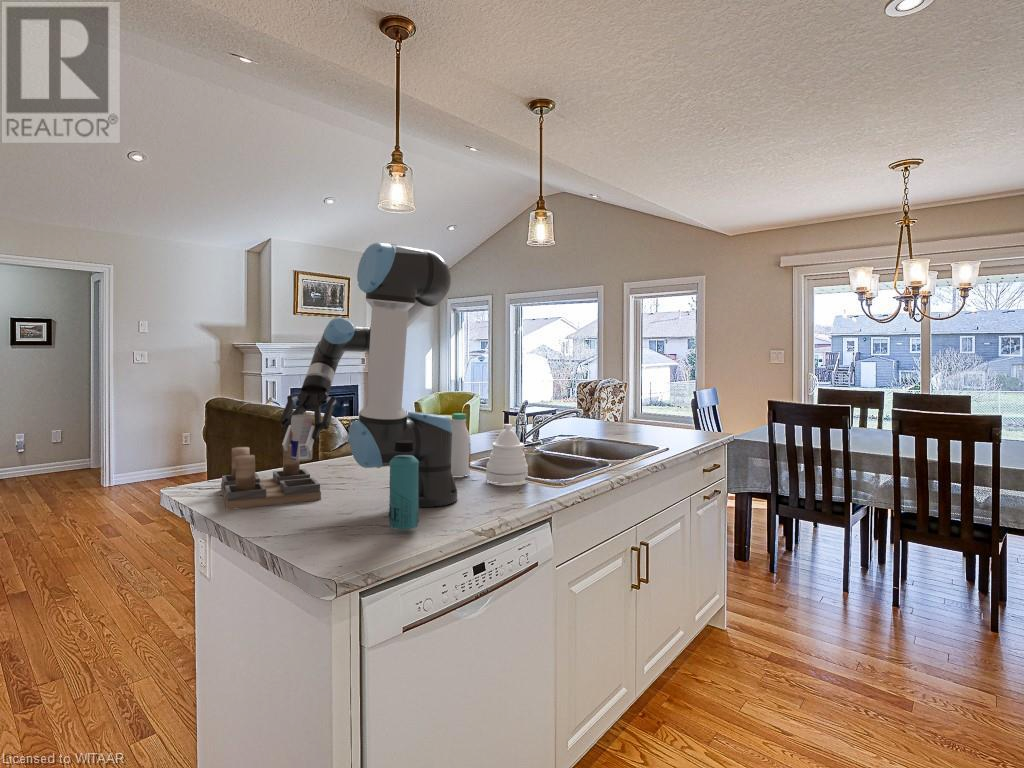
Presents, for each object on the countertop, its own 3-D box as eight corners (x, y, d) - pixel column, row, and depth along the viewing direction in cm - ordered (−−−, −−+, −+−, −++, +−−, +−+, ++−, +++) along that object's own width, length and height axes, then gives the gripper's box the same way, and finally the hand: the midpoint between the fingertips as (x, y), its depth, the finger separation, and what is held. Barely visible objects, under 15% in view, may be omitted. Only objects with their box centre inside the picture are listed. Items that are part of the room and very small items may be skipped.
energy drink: (294, 457, 150) (294, 414, 150) (314, 457, 151) (314, 414, 150) (288, 461, 145) (288, 416, 144) (308, 461, 145) (309, 416, 145)
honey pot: (527, 487, 164) (529, 426, 163) (484, 485, 164) (486, 425, 163) (527, 477, 176) (528, 421, 175) (487, 476, 177) (488, 420, 176)
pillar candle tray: (320, 499, 144) (321, 454, 144) (226, 509, 133) (226, 460, 132) (304, 482, 163) (304, 441, 162) (221, 489, 152) (221, 446, 151)
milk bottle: (466, 478, 172) (467, 415, 171) (442, 477, 174) (443, 414, 173) (472, 473, 180) (474, 413, 179) (450, 472, 181) (451, 412, 180)
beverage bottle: (424, 529, 122) (425, 439, 121) (409, 538, 115) (410, 443, 114) (398, 525, 124) (399, 437, 123) (382, 534, 117) (383, 441, 116)
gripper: (352, 391, 162) (334, 456, 147) (290, 390, 162) (265, 455, 147) (347, 374, 157) (328, 440, 141) (282, 373, 157) (256, 438, 141)
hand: (296, 447), depth 144 cm, fingers closed on energy drink, 5 cm apart
